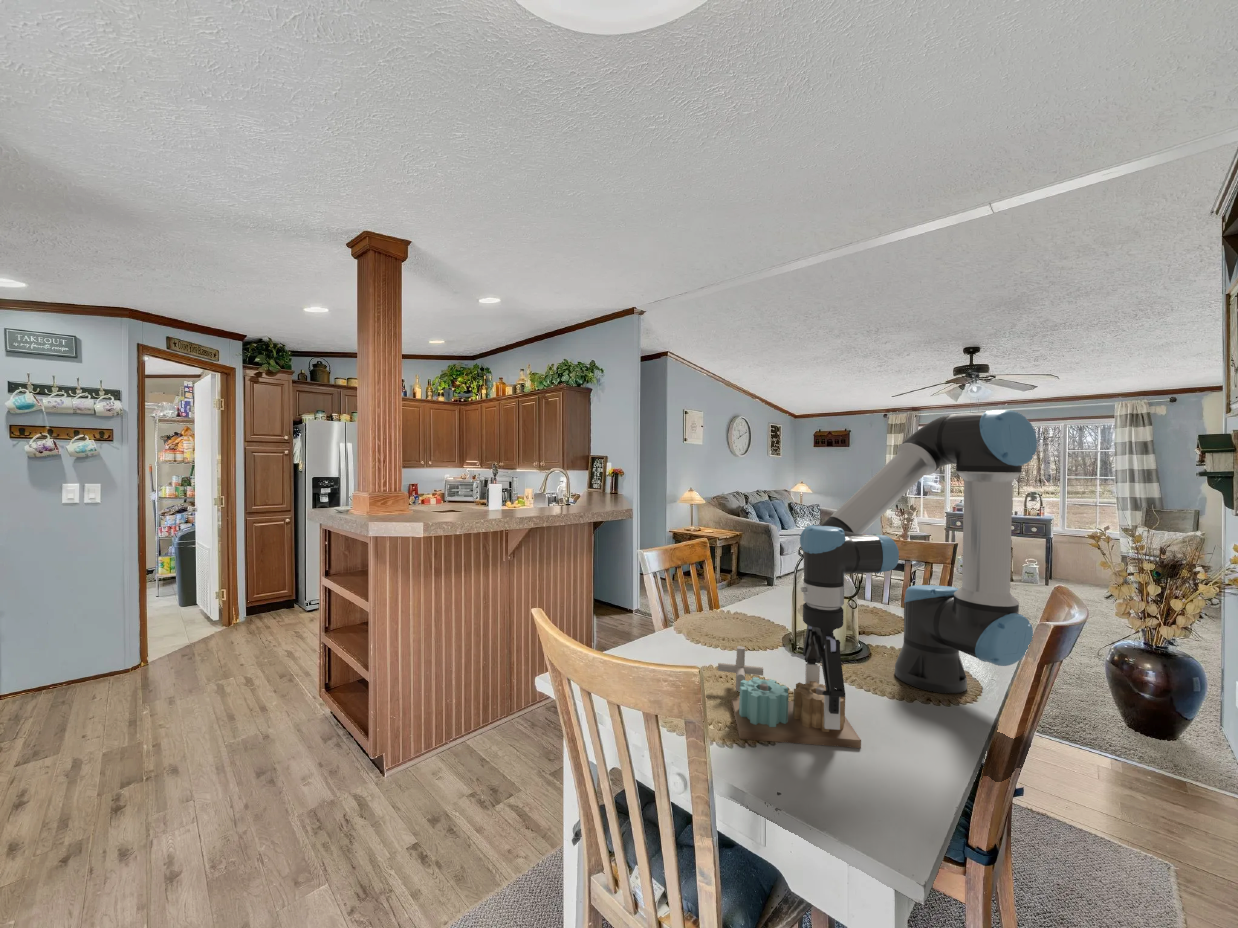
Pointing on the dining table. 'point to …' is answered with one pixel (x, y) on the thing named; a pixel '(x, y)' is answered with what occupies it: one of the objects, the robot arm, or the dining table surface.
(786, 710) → the teal gear
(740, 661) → the pipe connector
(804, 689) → the oak gear
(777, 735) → the gear board
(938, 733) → the dining table surface
